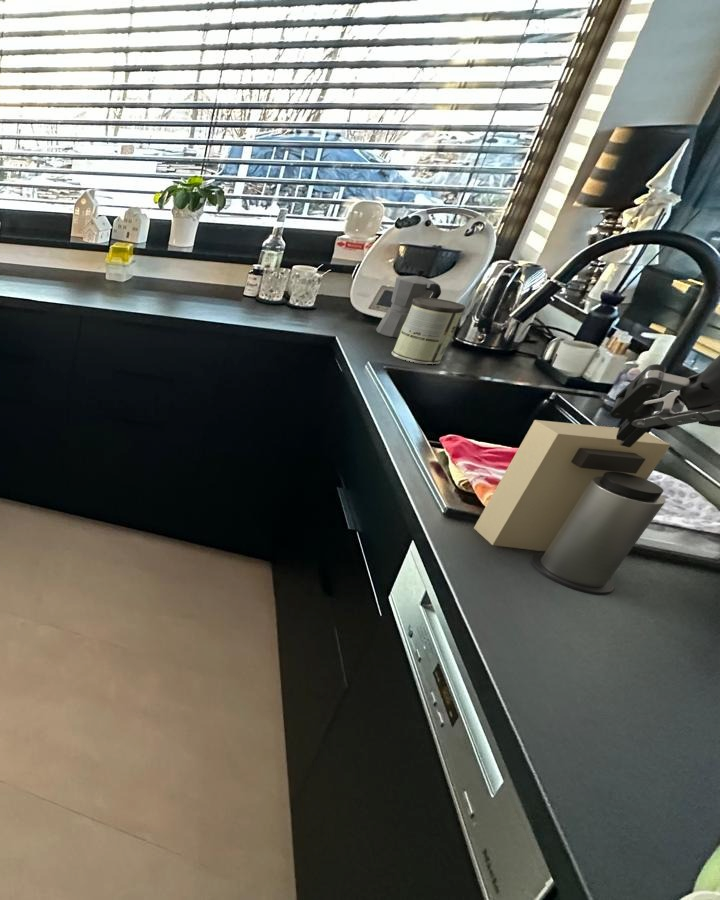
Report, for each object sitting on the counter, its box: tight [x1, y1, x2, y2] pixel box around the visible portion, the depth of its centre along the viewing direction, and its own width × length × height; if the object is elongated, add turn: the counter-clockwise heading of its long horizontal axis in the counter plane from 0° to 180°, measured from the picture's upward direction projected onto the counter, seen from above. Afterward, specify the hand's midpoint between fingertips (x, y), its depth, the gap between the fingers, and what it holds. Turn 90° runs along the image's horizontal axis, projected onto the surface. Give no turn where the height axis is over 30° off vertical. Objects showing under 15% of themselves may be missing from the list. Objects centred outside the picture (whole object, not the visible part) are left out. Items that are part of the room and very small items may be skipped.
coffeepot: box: [375, 268, 442, 339], centre depth 170 cm, size 15×9×18 cm, turn 1°
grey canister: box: [541, 472, 666, 588], centre depth 74 cm, size 6×6×13 cm
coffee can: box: [391, 297, 466, 366], centre depth 153 cm, size 10×10×14 cm
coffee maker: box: [473, 419, 672, 596], centre depth 76 cm, size 12×13×18 cm
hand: (684, 453), depth 63 cm, fingers open, 8 cm apart
